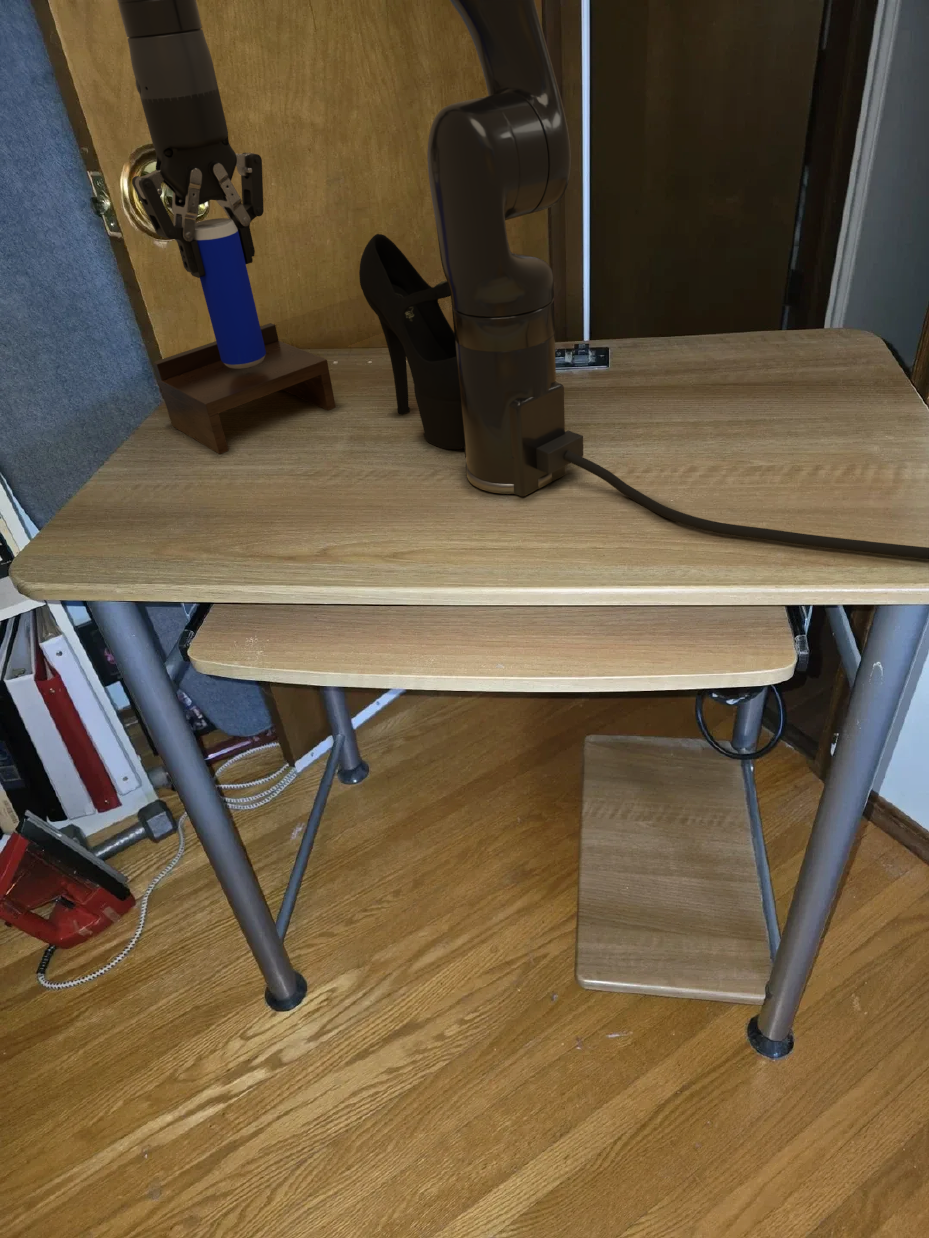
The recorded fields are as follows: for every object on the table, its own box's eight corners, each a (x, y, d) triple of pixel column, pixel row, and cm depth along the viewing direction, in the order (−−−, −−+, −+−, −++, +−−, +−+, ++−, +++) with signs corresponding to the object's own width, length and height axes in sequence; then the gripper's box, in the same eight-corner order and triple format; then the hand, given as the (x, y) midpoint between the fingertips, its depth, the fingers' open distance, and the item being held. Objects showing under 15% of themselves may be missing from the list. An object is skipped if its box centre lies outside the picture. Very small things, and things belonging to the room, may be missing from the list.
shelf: (336, 407, 107) (324, 342, 102) (219, 454, 99) (200, 386, 94) (284, 384, 115) (270, 322, 110) (172, 426, 107) (152, 362, 102)
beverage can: (273, 352, 104) (243, 216, 95) (257, 369, 100) (223, 229, 91) (233, 353, 105) (199, 218, 96) (215, 370, 101) (178, 231, 92)
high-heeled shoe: (466, 466, 91) (446, 266, 80) (364, 418, 104) (334, 238, 92) (523, 440, 95) (512, 246, 83) (418, 396, 108) (395, 221, 96)
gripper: (125, 102, 80) (178, 293, 90) (261, 78, 87) (296, 258, 97) (93, 100, 85) (147, 281, 95) (225, 77, 92) (262, 248, 102)
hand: (222, 268), depth 96 cm, fingers closed on beverage can, 5 cm apart
